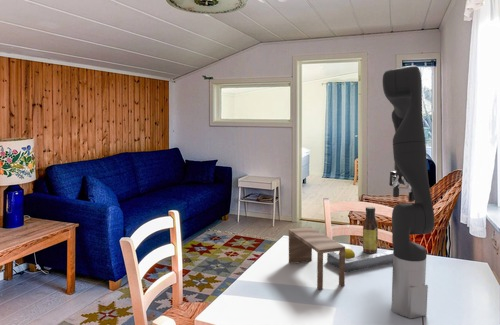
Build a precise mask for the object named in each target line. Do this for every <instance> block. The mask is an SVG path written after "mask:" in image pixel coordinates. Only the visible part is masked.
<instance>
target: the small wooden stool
mask: <svg viewBox="0 0 500 325" xmlns="http://www.w3.org/2000/svg"><path fill="white" fill-rule="evenodd" d="M345 249H346V246H344V245H343V244H341V243H339V242H337V241H336V240H334V239H332V238H331V237H329V236H327V235H326V234H324V233H323V232H320V231H319V230H317V229H315V228H314V227H312V226H306V227H297V228H289V229H288V263H289V264H298V263H297V262H299V263H304V262H311V261H313V258H312V257H313V251H315V252H316V253H317V258H316V259H317V260H316V262H317V266H316V267H317V268H316V274H317V275H316V278H317V280H316V289H317V290H318V291H320V290H321V291H322V290H324V287H323V286H324V253H325V254H327V253H330V252H335V253H336V252H339V253H338V255H339V269H338V285H339V286H340V287H345V279H346V278H345V276H346V273H345Z"/></svg>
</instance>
